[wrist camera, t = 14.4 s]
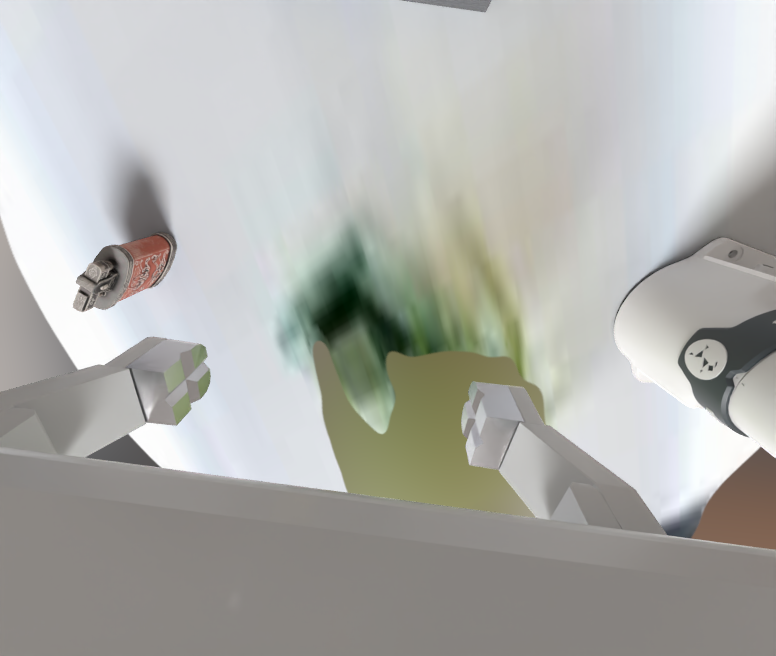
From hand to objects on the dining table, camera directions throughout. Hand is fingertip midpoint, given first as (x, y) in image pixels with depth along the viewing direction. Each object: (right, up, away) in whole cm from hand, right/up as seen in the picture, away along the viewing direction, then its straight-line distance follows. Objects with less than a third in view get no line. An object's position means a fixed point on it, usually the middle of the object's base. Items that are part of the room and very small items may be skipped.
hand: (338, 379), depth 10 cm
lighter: (-27, +10, +30) cm, 41 cm away
